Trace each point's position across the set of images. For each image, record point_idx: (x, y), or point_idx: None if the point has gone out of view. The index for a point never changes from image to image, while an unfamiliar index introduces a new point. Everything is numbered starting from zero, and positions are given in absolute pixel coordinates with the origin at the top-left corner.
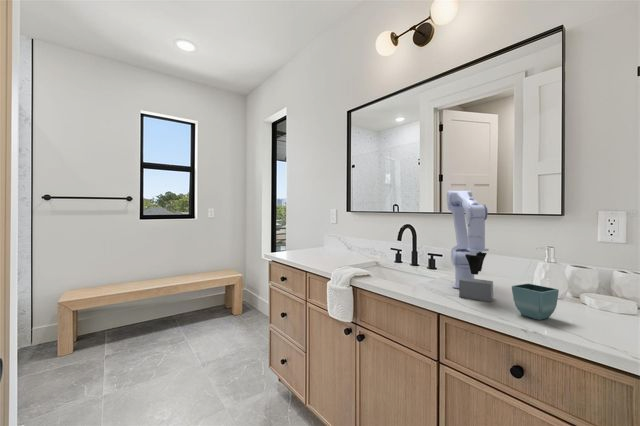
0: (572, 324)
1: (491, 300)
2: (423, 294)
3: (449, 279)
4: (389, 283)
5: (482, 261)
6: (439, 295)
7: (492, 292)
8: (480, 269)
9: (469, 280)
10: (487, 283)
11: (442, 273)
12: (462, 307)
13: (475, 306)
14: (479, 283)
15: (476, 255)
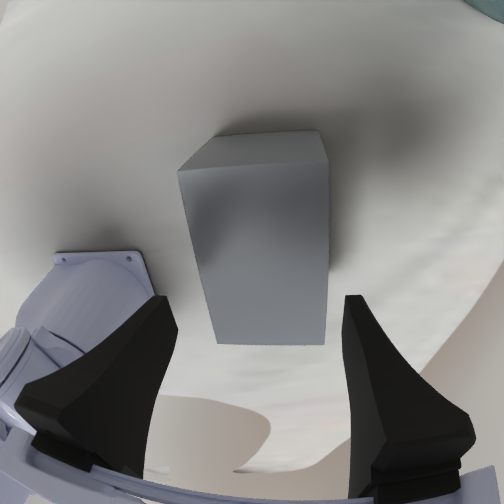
0: None
1: (296, 131)
2: None
3: None
4: (281, 444)
5: (117, 359)
6: None
7: (235, 144)
8: (161, 309)
9: (293, 303)
10: (320, 189)
11: None
12: (487, 232)
13: (451, 188)
14: (328, 238)
15: (429, 476)
